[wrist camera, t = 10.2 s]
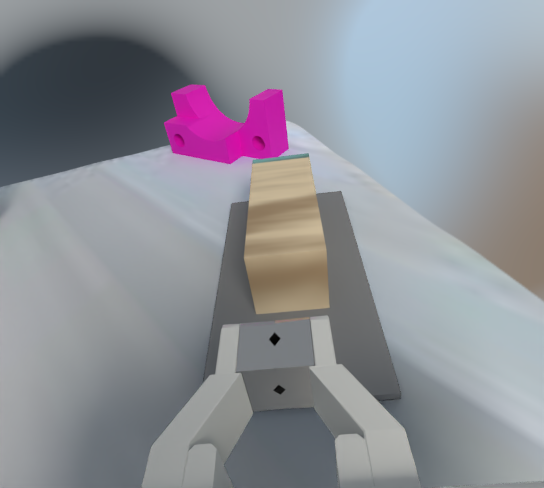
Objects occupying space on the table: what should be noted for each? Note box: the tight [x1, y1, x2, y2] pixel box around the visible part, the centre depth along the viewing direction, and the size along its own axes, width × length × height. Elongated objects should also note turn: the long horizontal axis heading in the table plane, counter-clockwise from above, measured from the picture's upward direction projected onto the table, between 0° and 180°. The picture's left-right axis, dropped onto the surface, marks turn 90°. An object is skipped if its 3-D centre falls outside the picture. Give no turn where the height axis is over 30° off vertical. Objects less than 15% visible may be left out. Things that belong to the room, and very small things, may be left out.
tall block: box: [244, 153, 330, 314], centre depth 30 cm, size 5×5×14 cm
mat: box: [203, 191, 401, 400], centre depth 30 cm, size 22×11×1 cm, turn 0°
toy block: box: [164, 85, 289, 164], centre depth 49 cm, size 15×6×8 cm, turn 56°
